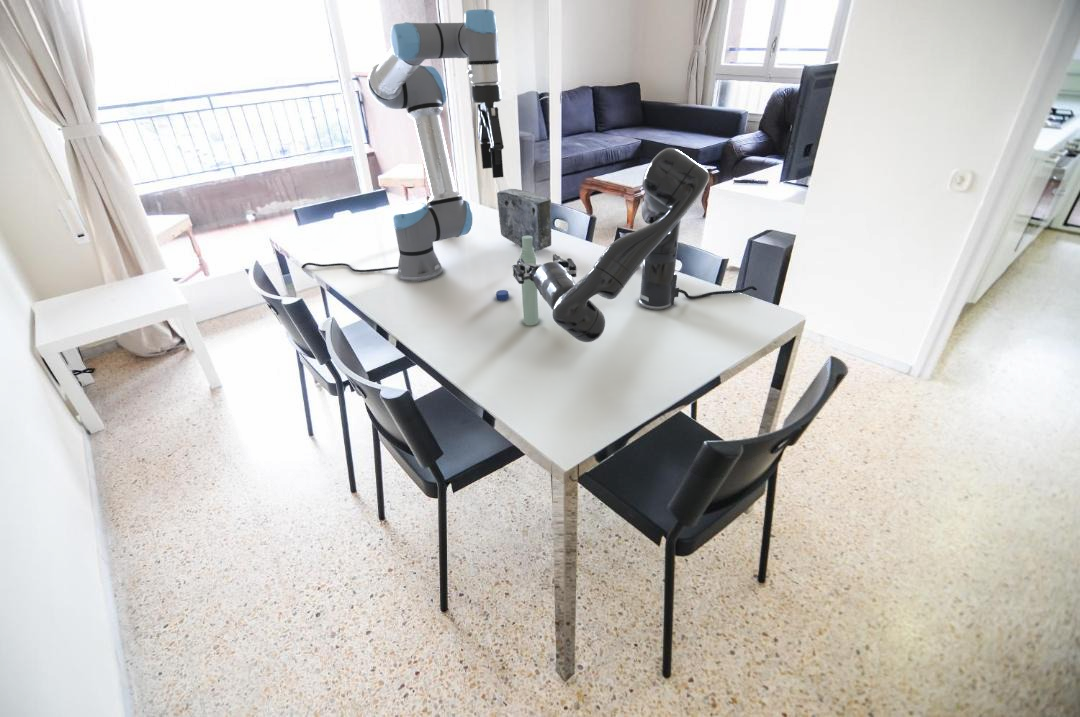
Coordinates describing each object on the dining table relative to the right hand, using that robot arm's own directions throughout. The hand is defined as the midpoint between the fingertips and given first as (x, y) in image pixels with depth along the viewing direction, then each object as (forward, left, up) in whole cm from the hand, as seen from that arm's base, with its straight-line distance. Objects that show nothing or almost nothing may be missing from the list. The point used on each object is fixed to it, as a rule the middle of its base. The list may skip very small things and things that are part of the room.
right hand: (537, 260), depth 121 cm
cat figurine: (-42, -40, -22) cm, 63 cm away
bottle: (0, -10, -22) cm, 25 cm away
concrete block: (-14, -74, -22) cm, 79 cm away
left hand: (+5, -29, +16) cm, 33 cm away
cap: (+5, -29, -20) cm, 36 cm away
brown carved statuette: (+18, -106, -22) cm, 109 cm away
